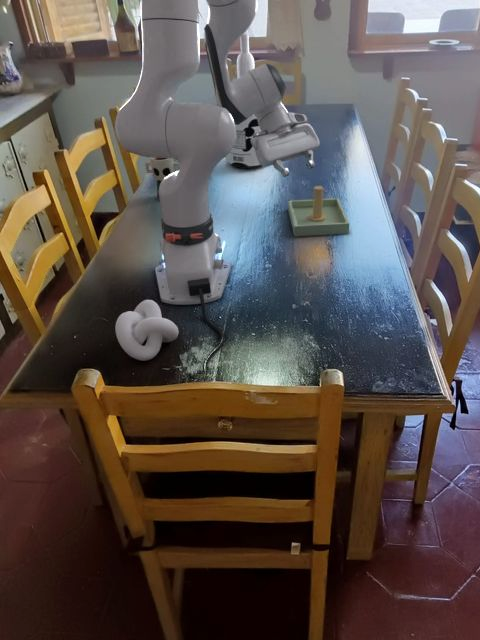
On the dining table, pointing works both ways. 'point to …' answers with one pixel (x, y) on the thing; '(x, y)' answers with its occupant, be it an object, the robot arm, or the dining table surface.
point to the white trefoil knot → (144, 330)
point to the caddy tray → (318, 227)
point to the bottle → (244, 57)
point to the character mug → (161, 168)
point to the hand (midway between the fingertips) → (299, 171)
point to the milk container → (244, 145)
